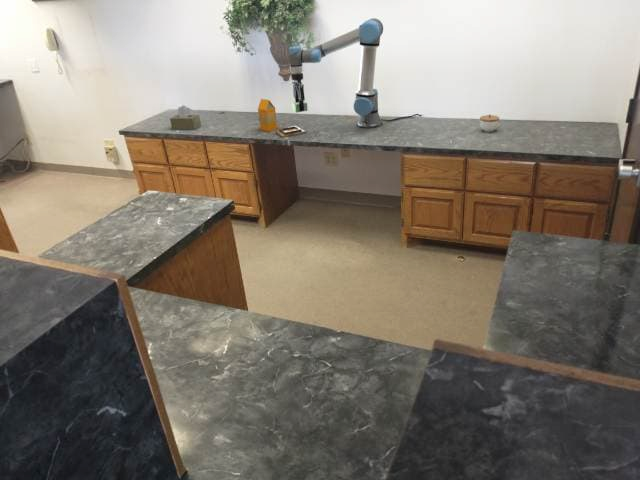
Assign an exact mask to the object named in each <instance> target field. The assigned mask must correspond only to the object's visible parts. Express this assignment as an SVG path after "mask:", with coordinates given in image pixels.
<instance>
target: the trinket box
mask: <svg viewBox="0 0 640 480" xmlns="http://www.w3.org/2000/svg"><path fill="white" fill-rule="evenodd" d="M499 122H500V117H499V115H493V114H486V115H481V116H480V117H479V125H480V128H481V130H482V131H483V132H485V133H491V132H494V131H495V130H496V129H497V128H498V126H499Z"/></svg>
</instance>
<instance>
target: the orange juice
mask: <svg viewBox="0 0 640 480" xmlns="http://www.w3.org/2000/svg"><path fill="white" fill-rule="evenodd" d="M257 111H258V121H259V126H260V127H259V128H260V131H263V132H268V133H270V132H273V131H277V130H278V122H277V113H276V107H275V106H274V104H273V103H272V102H271V100H270V99H264V98H261V99H260V101H259V104H258V107H257Z"/></svg>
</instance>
